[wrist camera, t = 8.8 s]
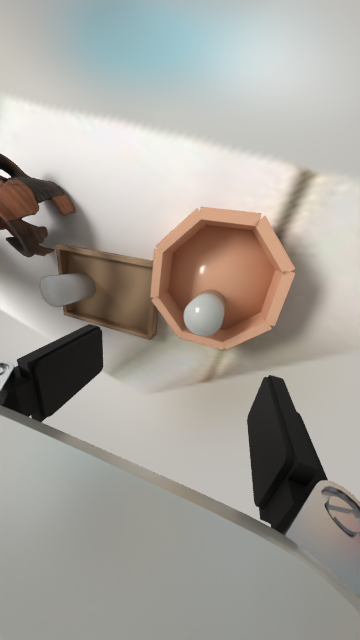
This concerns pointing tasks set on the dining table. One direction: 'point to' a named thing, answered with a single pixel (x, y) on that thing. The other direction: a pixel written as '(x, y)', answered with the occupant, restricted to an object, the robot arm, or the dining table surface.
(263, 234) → the bowl
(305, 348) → the dining table surface
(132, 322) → the tray
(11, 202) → the brown piece
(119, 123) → the dining table surface
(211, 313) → the stone
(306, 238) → the dining table surface
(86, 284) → the stone
